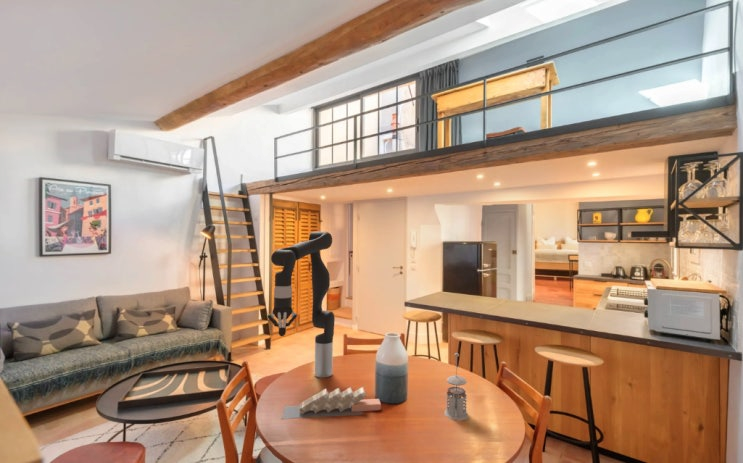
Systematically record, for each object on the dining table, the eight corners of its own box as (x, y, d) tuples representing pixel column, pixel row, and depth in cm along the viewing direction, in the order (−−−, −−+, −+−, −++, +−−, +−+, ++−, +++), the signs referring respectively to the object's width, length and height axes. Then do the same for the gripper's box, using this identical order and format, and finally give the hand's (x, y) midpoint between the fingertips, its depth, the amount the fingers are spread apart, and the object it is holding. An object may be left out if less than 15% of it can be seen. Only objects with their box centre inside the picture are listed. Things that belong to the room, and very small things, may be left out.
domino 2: (312, 408, 138) (339, 392, 140) (312, 402, 143) (338, 387, 144) (315, 413, 138) (341, 397, 140) (315, 407, 143) (341, 392, 144)
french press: (468, 410, 144) (469, 350, 145) (468, 424, 133) (469, 359, 134) (444, 406, 147) (445, 348, 147) (443, 420, 136) (443, 357, 136)
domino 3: (325, 407, 139) (351, 392, 140) (325, 402, 143) (350, 387, 145) (327, 412, 139) (354, 397, 141) (327, 406, 144) (353, 392, 145)
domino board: (284, 408, 144) (284, 406, 144) (360, 404, 148) (360, 402, 148) (281, 421, 134) (281, 418, 134) (363, 416, 138) (363, 414, 138)
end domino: (351, 405, 140) (380, 404, 142) (350, 400, 145) (378, 398, 146) (351, 411, 140) (380, 409, 142) (350, 405, 145) (378, 404, 146)
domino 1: (299, 409, 137) (326, 393, 139) (300, 403, 142) (326, 388, 144) (302, 414, 137) (328, 398, 139) (302, 408, 142) (328, 393, 144)
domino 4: (337, 406, 139) (363, 391, 141) (337, 401, 144) (362, 386, 146) (340, 412, 139) (366, 396, 141) (339, 406, 144) (365, 391, 146)
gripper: (265, 297, 145) (265, 338, 144) (297, 297, 146) (297, 338, 146) (268, 294, 152) (268, 334, 152) (299, 294, 154) (298, 333, 154)
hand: (282, 335), depth 149 cm, fingers closed
